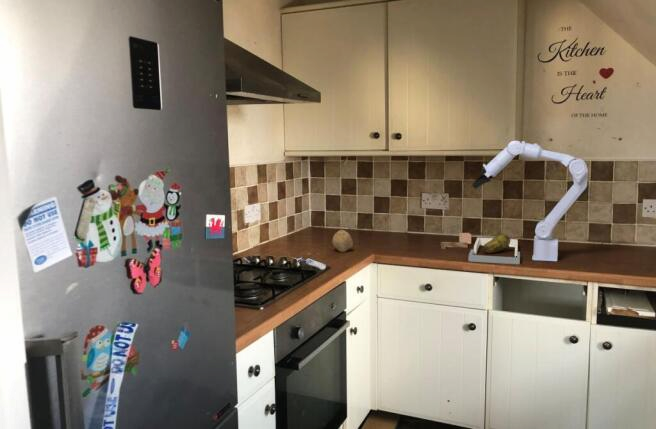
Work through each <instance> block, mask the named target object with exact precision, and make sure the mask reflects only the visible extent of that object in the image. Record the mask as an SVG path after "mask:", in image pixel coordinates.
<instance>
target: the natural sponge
mask: <svg viewBox="0 0 656 429" xmlns="http://www.w3.org/2000/svg"><path fill="white" fill-rule="evenodd" d="M331 242H332V245H333V247H335V249H336V250H337V251H339V252H341V253H346V251H348V250H349V249H351V248H353V245H354V241H353V239H352V237H351V234H350V233H349V232H347V231H346V230H343V229H340V230H337V232H335V233H334V235H333V237H332V241H331Z"/></svg>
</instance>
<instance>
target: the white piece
mask: <svg viewBox="0 0 656 429" xmlns="http://www.w3.org/2000/svg"><path fill="white" fill-rule="evenodd" d="M493 238H494V237H477V238H476V240H475V243H474V246H473V249H474V255H477V253H478V250H479V248H480V246H484V245H485V244H486V243H487V242H489V241H491V240H492V239H493ZM518 242H519V240H518V239H517V238H515V239H514V238H510V244H509V247H510V248H514V257H516V256H517V252H518V250H519V249H518V245H519V244H518ZM509 247H508V248H509Z"/></svg>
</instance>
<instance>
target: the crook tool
mask: <svg viewBox="0 0 656 429" xmlns="http://www.w3.org/2000/svg"><path fill="white" fill-rule="evenodd" d="M468 246H469V245H468V243H467V242H459V241H453V242H452V241H440V247H441V249H442V250H446V249H447V248H468Z"/></svg>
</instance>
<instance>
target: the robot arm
mask: <svg viewBox="0 0 656 429" xmlns="http://www.w3.org/2000/svg"><path fill="white" fill-rule="evenodd" d="M518 155H520V157H524V158H528V159H533V160H538V159H540V158H543V159H547V160H551V161H556V162H559V163H561V164H562V165H564V167H566V168H567V167H568V171H569V172H570V174H571V176H572V180H573V184H572V185H571V186H570V188H569V189H568V191H566V193H565V194H564V195H563V196H562V197H561V198H560V200H559V201H558V202H557V204H556V205H554V207H553V208H552V210H551V211H550V212H549V213H548V214H547V216H545V217H544V218H543V220H541V221H538V222H537V224H536V227H535V230H534V232H535V235H534V237H533V255H532V256H531V257H532V258H531V259H532V261H543V262H558V257H559V252H558V250H559V239H558V238H554V236H553V235H552V232H553V230H554V228H555V227H556V225H557V224H558V222H559V221H560V220H561V219H562V218H563V216H564V215H565V214H566V213H567V211H568V210H569V209H570V208H571V207H572V205H573V204H574V203H575V201H576V200H578V198H579V197H580V196H581V195H582V193H583V192H584V191H585V190H586V189H587V187H588V178H589V177H588V176H589V169H588V167H587V164H586V162H585V160H584V159H583V158H578V157H576V156H573V155H571V154H567V153H562V152H557V151H552V150H548V149H546V150H545V149H543V148H542V147H541V145H539V144H538V143H536V142H535V143H528V142H526V141H525V140H522V141H520V140H512V141H510V142H509V143H508V144H507V146H506V147H504V148H503V150H501V151H500V152H499V153H498V154H497V155H496V156H495V157H494V158H492V160H490V161H489V162H488V163H487V164H485V163H483V164H482V166H483V168H482V169H481V171H480V172H479V175H478V177H477V178H476V179H475V180H474V181H473V184H472V187H473V188H474V189H476V190H477V189H478V188H480V187H481V186H482V185H484V184H486V183H489V182H491V181H492V180H491V179H493V178H496V176H497V175H498V174H499V173H500V172H502V170H503V169H504V168H505V167H506V166H507V165H508V164H510V163H511V161H512V160H513V159H514V158H515V157H516V156H518Z"/></svg>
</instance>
